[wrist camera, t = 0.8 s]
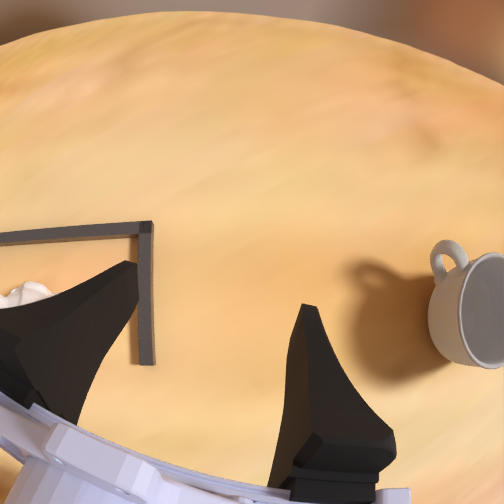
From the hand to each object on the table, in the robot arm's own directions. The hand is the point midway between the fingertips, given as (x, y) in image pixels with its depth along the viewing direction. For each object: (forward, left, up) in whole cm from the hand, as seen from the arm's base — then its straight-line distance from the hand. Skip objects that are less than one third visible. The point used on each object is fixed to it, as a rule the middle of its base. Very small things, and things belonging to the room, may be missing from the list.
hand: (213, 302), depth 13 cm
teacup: (+11, -21, -15) cm, 28 cm away
